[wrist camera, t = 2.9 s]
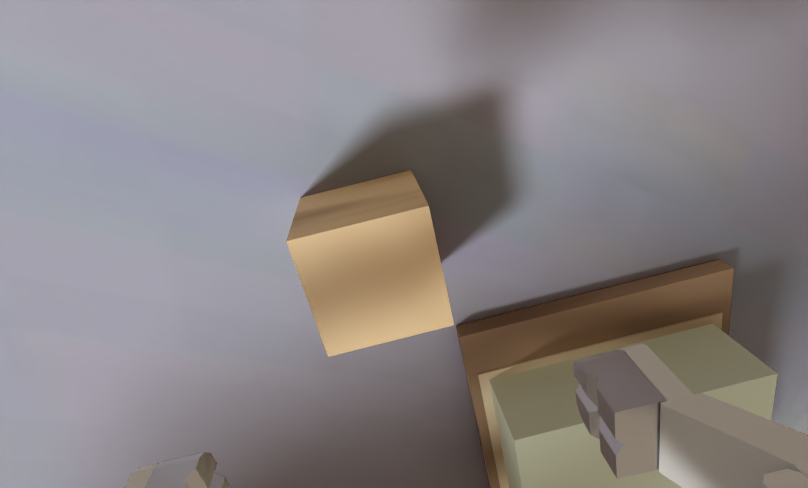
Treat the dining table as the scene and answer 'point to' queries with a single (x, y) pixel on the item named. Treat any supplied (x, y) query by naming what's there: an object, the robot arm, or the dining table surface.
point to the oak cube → (370, 263)
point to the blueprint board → (585, 334)
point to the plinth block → (566, 432)
